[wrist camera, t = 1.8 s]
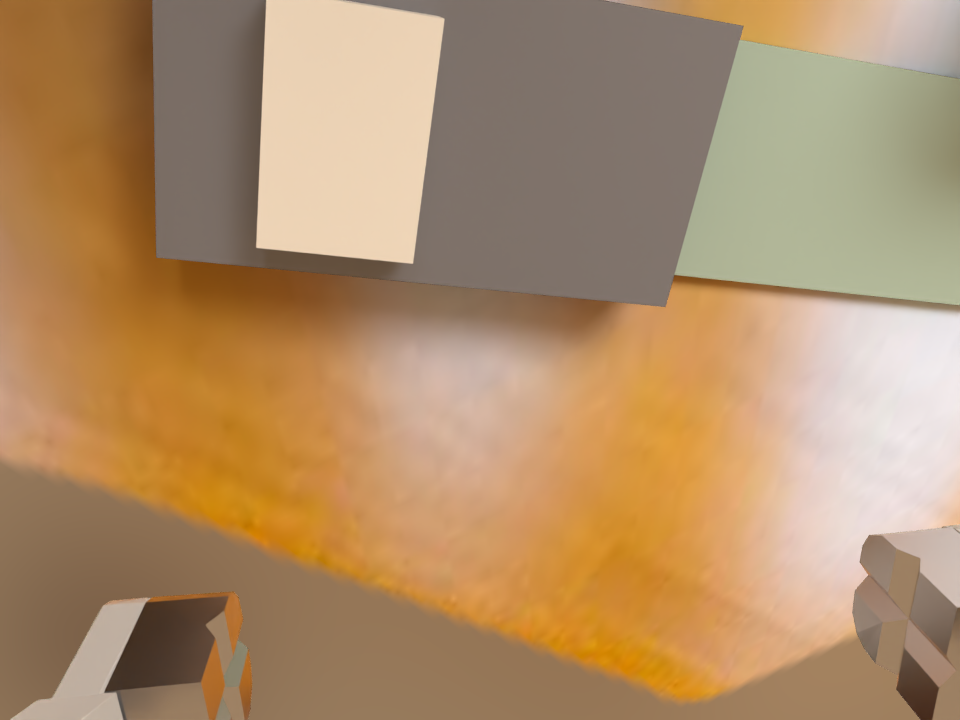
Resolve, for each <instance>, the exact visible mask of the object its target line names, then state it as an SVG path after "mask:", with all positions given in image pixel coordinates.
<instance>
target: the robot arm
mask: <svg viewBox="0 0 960 720" xmlns="http://www.w3.org/2000/svg"><path fill="white" fill-rule="evenodd" d="M860 563H861V565H862V566H863V568H864V569H865V571H866V572H867V574H868V576H867V577H866V578H865V580H864V581H863V582H862V583H861V584H860V585H859V586H858V588H857V589H856V590H855V594H854V603H853V611H852V612H853V617H854V622H855V627H856V632H857V635H858V637H859V639H860V641H861V643H862V645H863V647H864V649H865V650H866V652H867V653H868V654H869V655H870V657H871V658H872V660H873V661H874V662H875V663H876V664H878V665H879V666H881V667H883V668H885V669H887V670H889V671H891V672H892V673H894V674H896V675H898V677H897V687H896V690H897V691H898V692H899V693H900V695H901V696H902V697H903V698H904V700H905V701H906V702H907V704H908V705H909V706H910V707H911V708H912V710H913V711H914V712H915V713H916V715H917V716H918V717H919V718H920V720H960V525H953V526H945V527H942V528H937V529H927V530H917V531H906V532H896V533H886V534H876V535H869V536H868V538H867V539H866V541H865V543H864V544H863V546H862V552H861V557H860ZM242 622H243V616H242V612H241V607H240V602H239V597H238V596H237V595H236V594H235V593H234V592H220V593H205V594H191V595H176V596H162V597H153V598H137V599H125V600H114V601H110V602H109V603H107V604H105V605H103V606H102V608H101V609H100V611H99V613H98V615H97V616H96V618H95V620H94V622H93V623H92V625H91V627H90V629H89V631H88V633H87V634H86V636H85V638H84V640H83V642H82V644H81V645H80V647H79V649H78V651H77V653H76V655H75V656H74V658H73V660H72V662H71V663H70V665H69V667H68V669H67V671H66V673H65V674H64V676H63V678H62V680H61V682H60V683H59V685H58V687H57V689H56V691H55V692H54V694H53V696H52V698H51V699H42V700H37V701H36V702H34V703H33V704H31V705H30V706H29V707H27V708H26V709H24V710H23V711H22V712H20V713H19V714H17V715H16V716H15V717H13V718H12V719H10V720H248V718H249V714H250V709H251V694H252V673H251V663H250V656H249V650H248V648H247V647H246V646H245V645H244V644H242V643H241V642H240V641H239V640H238V637H239V633H240V629H241V625H242Z"/></svg>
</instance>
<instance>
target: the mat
mask: <svg viewBox="0 0 960 720" xmlns="http://www.w3.org/2000/svg"><path fill="white" fill-rule="evenodd" d="M674 275H680V276H689V277H699V278H708V279H718V280H727V281H736V282H746V283H755V284H765V285H774V286H783V287H793V288H802V289H812V290H821V291H830V292H840V293H849V294H859V295H868V296H877V297H887V298H896V299H906V300H915V301H924V302H934V303H943V304H953V305H960V79H958V78H952V77H946V76H941V75H935V74H930V73H924V72H918V71H913V70H907V69H901V68H896V67H890V66H884V65H879V64H873V63H868V62H862V61H856V60H851V59H845V58H839V57H834V56H828V55H822V54H817V53H811V52H806V51H800V50H794V49H789V48H783V47H777V46H772V45H766V44H760V43H755V42H749V41H744V40H740V41H739V44H738V48H737V51H736V55H735V59H734V62H733V66H732V69H731V73H730V77H729V80H728V84H727V87H726V91H725V95H724V98H723V102H722V105H721V109H720V112H719V116H718V120H717V123H716V127H715V130H714V134H713V138H712V141H711V145H710V148H709V152H708V156H707V159H706V163H705V166H704V170H703V174H702V177H701V181H700V184H699V188H698V192H697V195H696V199H695V202H694V206H693V210H692V213H691V217H690V220H689V224H688V228H687V231H686V235H685V238H684V242H683V246H682V249H681V253H680V256H679V260H678V264H677V267H676V271H675V274H674Z"/></svg>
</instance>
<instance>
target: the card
mask: <svg viewBox="0 0 960 720" xmlns="http://www.w3.org/2000/svg"><path fill="white" fill-rule="evenodd" d="M444 20H445V19H444V18H441V17H439V16H435V15H429V14H423V13H417V12H411V11H405V10H399V9H393V8H387V7H382V6H376V5H370V4H364V3H358V2H352V1H346V0H266V18H265V43H264V68H263V92H262V117H261V142H260V166H259V191H258V215H257V240H256V248H263V249H273V250H283V251H292V252H302V253H312V254H322V255H332V256H342V257H351V258H361V259H371V260H381V261H391V262H400V263H410V264H413V260H414V252H415V244H416V237H417V229H418V221H419V213H420V206H421V198H422V190H423V182H424V175H425V167H426V159H427V151H428V144H429V136H430V128H431V121H432V113H433V105H434V97H435V90H436V82H437V74H438V66H439V59H440V51H441V43H442V35H443V28H444Z"/></svg>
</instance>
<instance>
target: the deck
mask: <svg viewBox="0 0 960 720" xmlns="http://www.w3.org/2000/svg"><path fill="white" fill-rule="evenodd" d="M346 1H352V2H358V3H364V4H370V5H376V6H382V7H387V8H393V9H399V10H405V11H411V12H417V13H423V14H429V15H435V16H439V17H441V18H444V19H445V20H444V28H443V35H442V43H441V51H440V59H439V66H438V74H437V82H436V90H435V97H434V105H433V113H432V121H431V128H430V136H429V144H428V151H427V159H426V167H425V175H424V182H423V190H422V198H421V206H420V213H419V221H418V229H417V237H416V244H415V252H414V260H413V264H410V263H400V262H391V261H381V260H371V259H361V258H351V257H342V256H332V255H322V254H312V253H302V252H292V251H283V250H273V249H263V248H256V240H257V215H258V191H259V166H260V142H261V117H262V92H263V68H264V43H265V18H266V0H152V13H153V78H154V144H155V210H156V258H166V259H177V260H187V261H197V262H208V263H218V264H228V265H238V266H249V267H259V268H269V269H280V270H290V271H300V272H311V273H321V274H331V275H342V276H352V277H362V278H373V279H383V280H393V281H403V282H414V283H424V284H434V285H445V286H455V287H465V288H476V289H486V290H496V291H507V292H517V293H527V294H538V295H548V296H558V297H569V298H579V299H589V300H599V301H610V302H620V303H630V304H641V305H651V306H661V307H666V303H667V300H668V296H669V292H670V289H671V285H672V282H673V278H674V274H675V271H676V267H677V264H678V260H679V256H680V253H681V249H682V246H683V242H684V238H685V235H686V231H687V228H688V224H689V220H690V217H691V213H692V210H693V206H694V202H695V199H696V195H697V192H698V188H699V184H700V181H701V177H702V174H703V170H704V166H705V163H706V159H707V156H708V152H709V148H710V145H711V141H712V138H713V134H714V130H715V127H716V123H717V120H718V116H719V112H720V109H721V105H722V102H723V98H724V95H725V91H726V87H727V84H728V80H729V77H730V73H731V69H732V66H733V62H734V59H735V55H736V51H737V48H738V44H739V41H740V37H741V33H742V30H743V26H741V25H736V24H730V23H725V22H719V21H714V20H708V19H703V18H697V17H692V16H686V15H681V14H675V13H670V12H664V11H659V10H653V9H648V8H642V7H637V6H631V5H626V4H620V3H615V2H609V1H604V0H346Z"/></svg>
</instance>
